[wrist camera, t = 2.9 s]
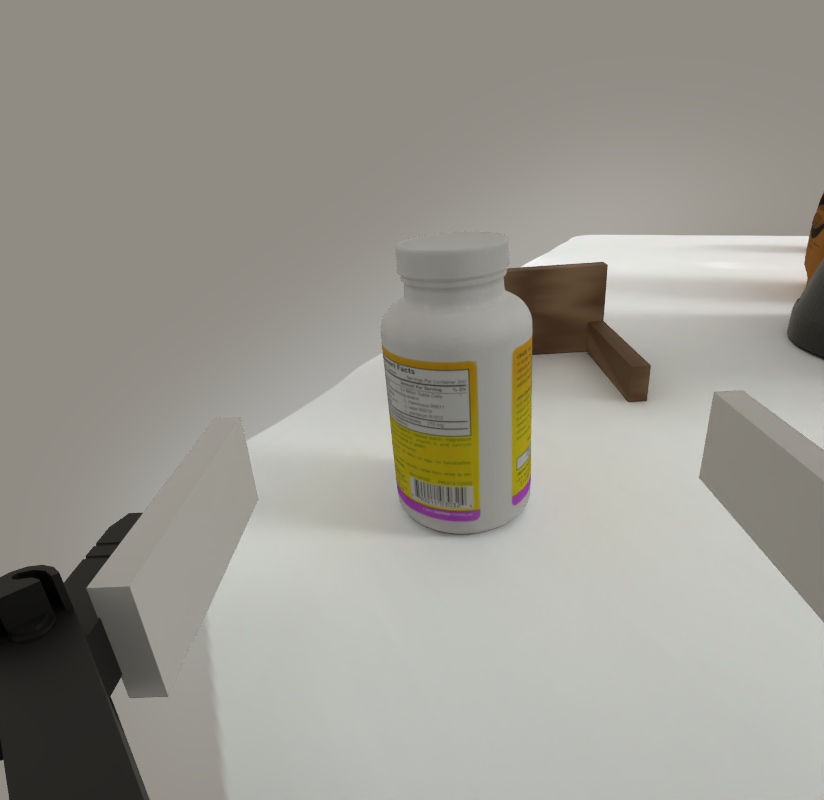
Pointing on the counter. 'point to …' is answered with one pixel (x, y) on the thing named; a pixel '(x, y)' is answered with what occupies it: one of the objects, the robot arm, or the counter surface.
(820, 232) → the coffee package
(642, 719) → the counter surface
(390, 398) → the supplement bottle
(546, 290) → the u-shaped wooden bracket
